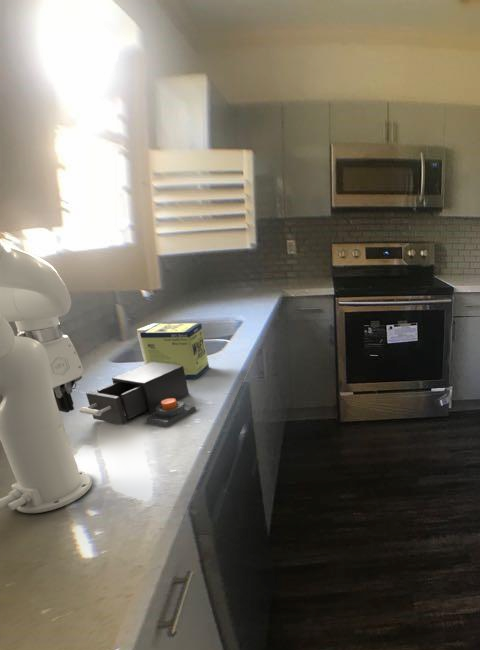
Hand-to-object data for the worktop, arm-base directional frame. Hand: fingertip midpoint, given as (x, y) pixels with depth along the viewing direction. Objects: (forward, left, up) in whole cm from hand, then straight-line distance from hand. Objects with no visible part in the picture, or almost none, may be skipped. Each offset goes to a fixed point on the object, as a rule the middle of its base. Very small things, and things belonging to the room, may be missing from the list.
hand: (66, 410), depth 106 cm
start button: (+18, -12, -5) cm, 22 cm away
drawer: (+13, 0, -7) cm, 15 cm away
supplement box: (+50, +26, -8) cm, 56 cm away
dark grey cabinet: (+24, 0, -8) cm, 25 cm away
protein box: (+44, +10, -8) cm, 45 cm away
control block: (+18, -12, -8) cm, 23 cm away
